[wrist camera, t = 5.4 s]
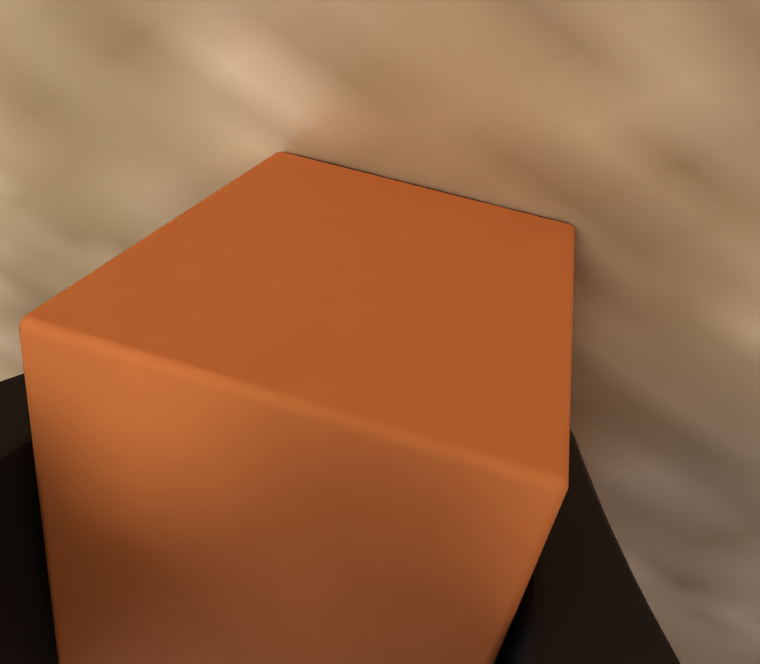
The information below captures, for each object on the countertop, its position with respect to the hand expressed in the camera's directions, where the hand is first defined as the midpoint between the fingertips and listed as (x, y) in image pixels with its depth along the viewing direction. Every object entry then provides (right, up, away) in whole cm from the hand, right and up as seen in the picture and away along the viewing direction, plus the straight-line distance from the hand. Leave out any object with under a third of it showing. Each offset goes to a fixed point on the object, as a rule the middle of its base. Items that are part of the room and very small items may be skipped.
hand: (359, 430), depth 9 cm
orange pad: (0, -1, +2) cm, 2 cm away
